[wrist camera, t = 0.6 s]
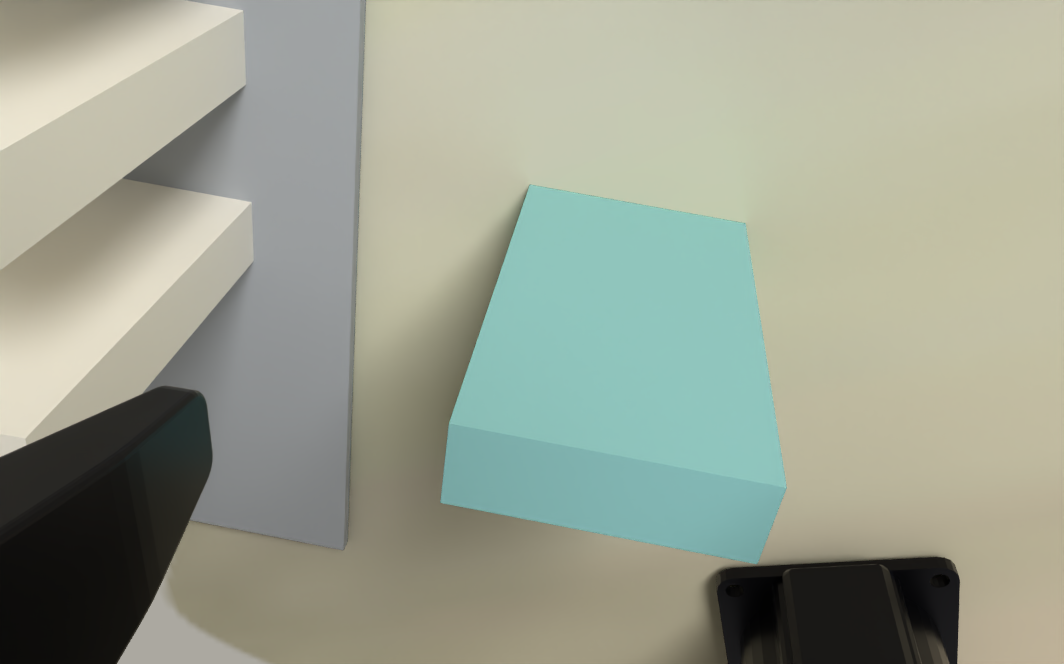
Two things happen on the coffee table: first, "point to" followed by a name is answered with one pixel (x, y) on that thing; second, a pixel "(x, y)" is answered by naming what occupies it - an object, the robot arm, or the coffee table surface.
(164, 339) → the domino
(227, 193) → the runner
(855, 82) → the coffee table surface
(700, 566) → the coffee table surface
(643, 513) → the domino
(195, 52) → the domino
